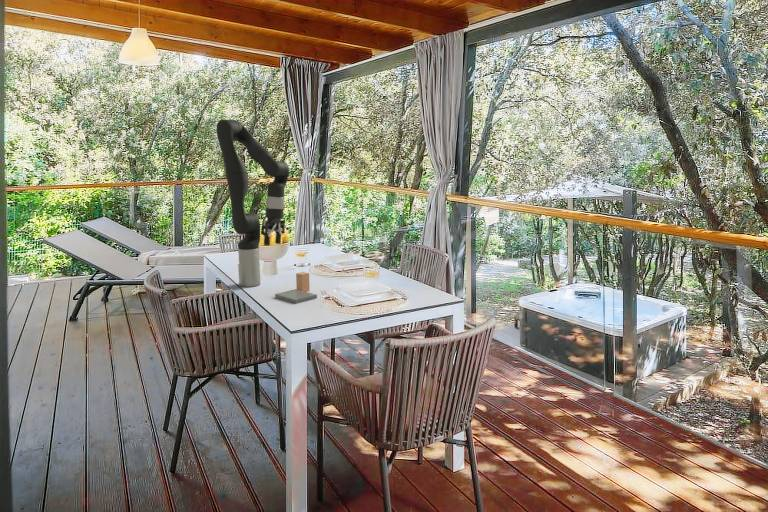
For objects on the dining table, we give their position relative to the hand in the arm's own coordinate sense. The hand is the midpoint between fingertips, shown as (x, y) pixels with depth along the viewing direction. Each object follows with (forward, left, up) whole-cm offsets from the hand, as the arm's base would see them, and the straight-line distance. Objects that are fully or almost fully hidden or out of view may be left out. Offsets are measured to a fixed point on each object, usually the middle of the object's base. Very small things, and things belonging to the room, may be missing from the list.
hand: (272, 244), depth 239 cm
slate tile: (+18, -2, -21) cm, 27 cm away
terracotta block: (+11, +8, -21) cm, 25 cm away
